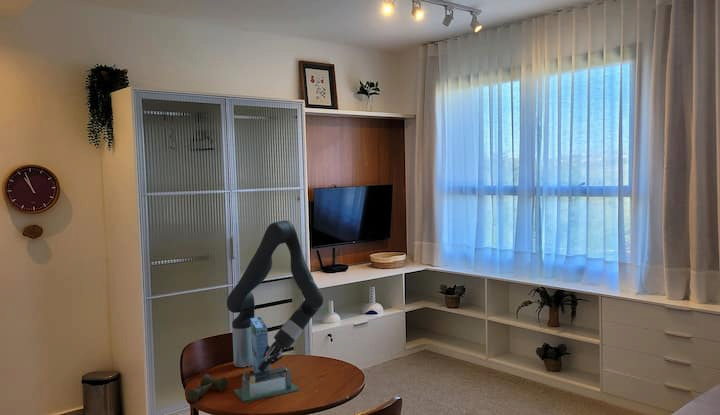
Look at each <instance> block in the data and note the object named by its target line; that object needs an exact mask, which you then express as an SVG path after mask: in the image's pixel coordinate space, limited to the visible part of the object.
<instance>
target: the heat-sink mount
mask: <svg viewBox="0 0 720 415" xmlns="http://www.w3.org/2000/svg"><path fill="white" fill-rule="evenodd" d="M281 367H284V368H285V366H284V365H279V367H278V368H281ZM250 372H251V371H250V370H249V369H246V370H243V374H242V375H243V376H241V387H240V388H236V389H233V394H235V395H236V396H237V397H238V399H239V400H241V402H243V403H244V404H245V403H249V402H254V401H258V400H262V399H267V398H271V397H272V398H273V397H275V396H280V395H284V394H289V393H293V392H298V391H300V388H299V387H298V386H297V385H295V384H294V383H293V382H292V375H291V370H290V369H287V371H286V372H285V373H280V374H276V375H271V376H266V377H262V378H257V379H255V376H254V375H251V376H249V379H248V378H247V377H246V375H247V374H251V373H250Z"/></svg>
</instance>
